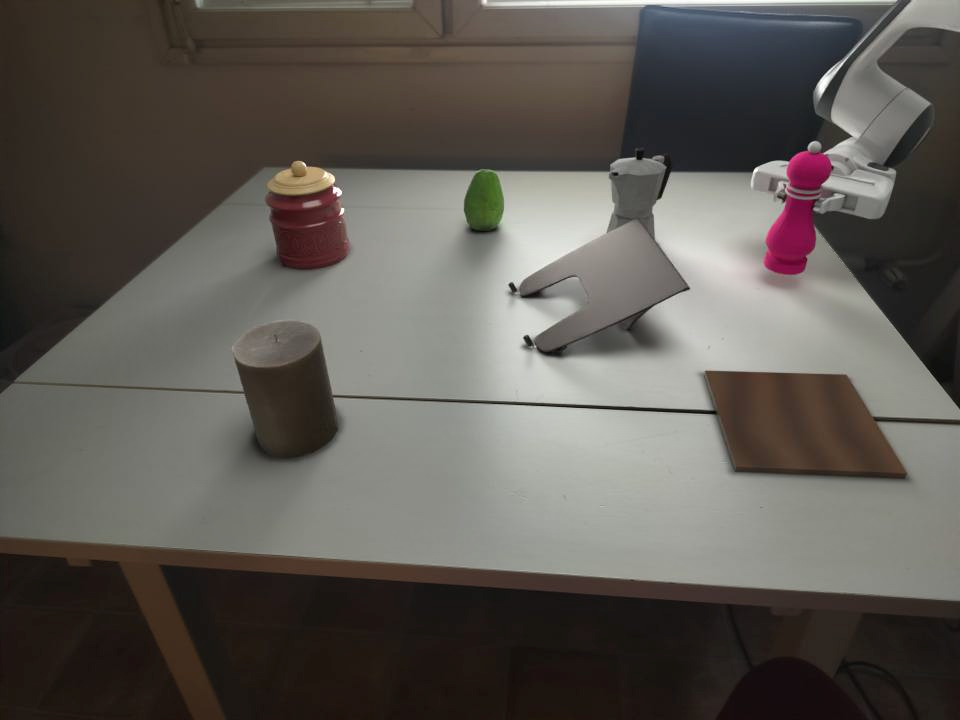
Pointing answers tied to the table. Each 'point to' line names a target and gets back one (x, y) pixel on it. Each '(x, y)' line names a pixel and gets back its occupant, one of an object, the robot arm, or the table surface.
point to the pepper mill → (797, 213)
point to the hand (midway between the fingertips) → (798, 202)
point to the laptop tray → (607, 284)
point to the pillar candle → (287, 387)
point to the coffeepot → (638, 188)
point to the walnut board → (799, 425)
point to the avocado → (484, 201)
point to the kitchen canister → (307, 217)
